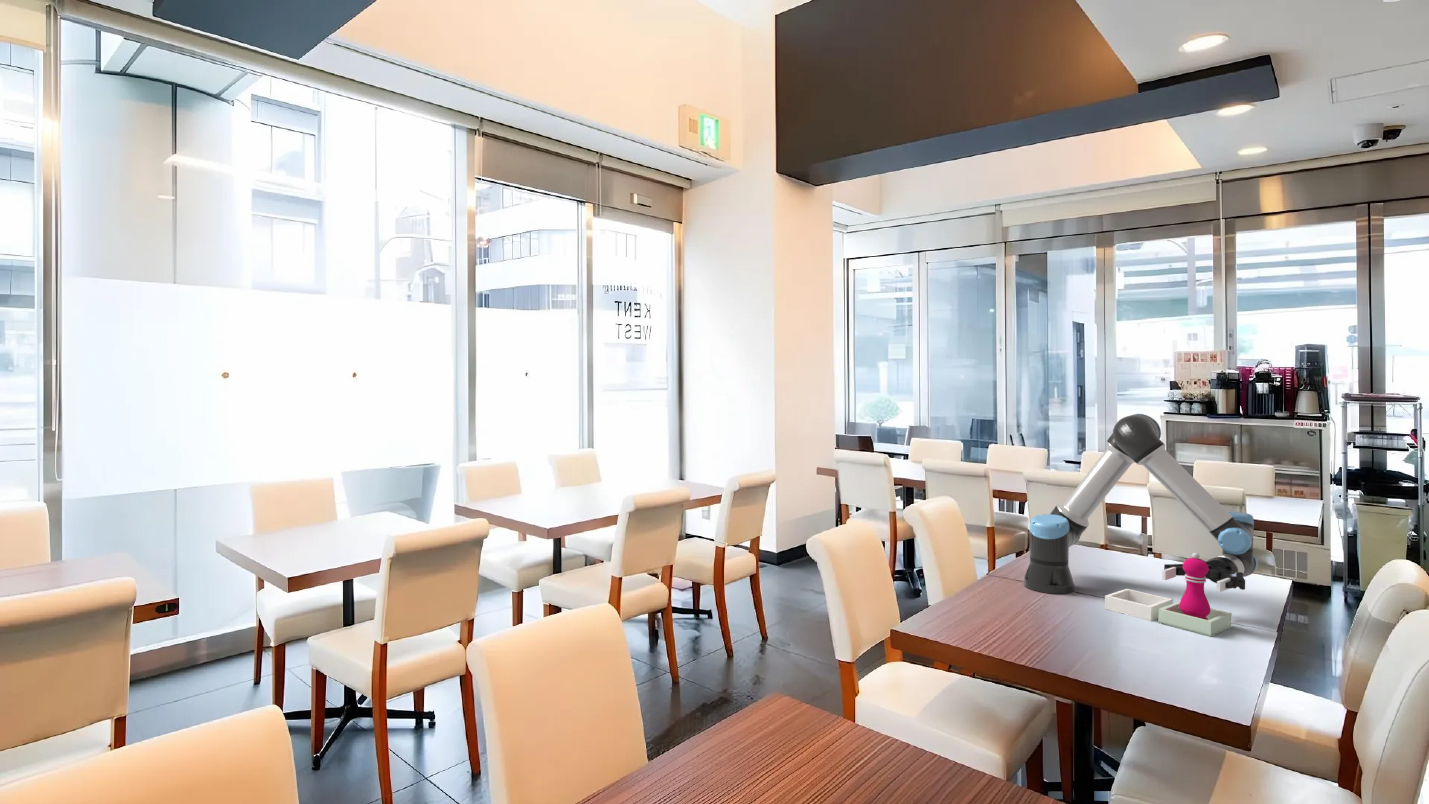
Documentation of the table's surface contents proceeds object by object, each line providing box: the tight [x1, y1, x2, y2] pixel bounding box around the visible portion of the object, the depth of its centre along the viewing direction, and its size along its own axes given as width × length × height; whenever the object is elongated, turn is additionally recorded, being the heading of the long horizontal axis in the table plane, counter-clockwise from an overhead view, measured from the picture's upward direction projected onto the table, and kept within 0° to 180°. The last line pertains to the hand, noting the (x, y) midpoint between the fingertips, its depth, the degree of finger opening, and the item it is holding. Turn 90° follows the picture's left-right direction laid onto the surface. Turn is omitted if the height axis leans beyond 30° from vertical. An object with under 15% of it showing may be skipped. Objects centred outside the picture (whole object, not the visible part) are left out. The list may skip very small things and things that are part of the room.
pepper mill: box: [1179, 552, 1211, 620], centre depth 197 cm, size 7×7×20 cm
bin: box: [1104, 588, 1173, 622], centre depth 210 cm, size 13×13×4 cm
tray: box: [1157, 600, 1232, 637], centre depth 197 cm, size 13×13×4 cm
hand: (1190, 580), depth 195 cm, fingers open, 13 cm apart
